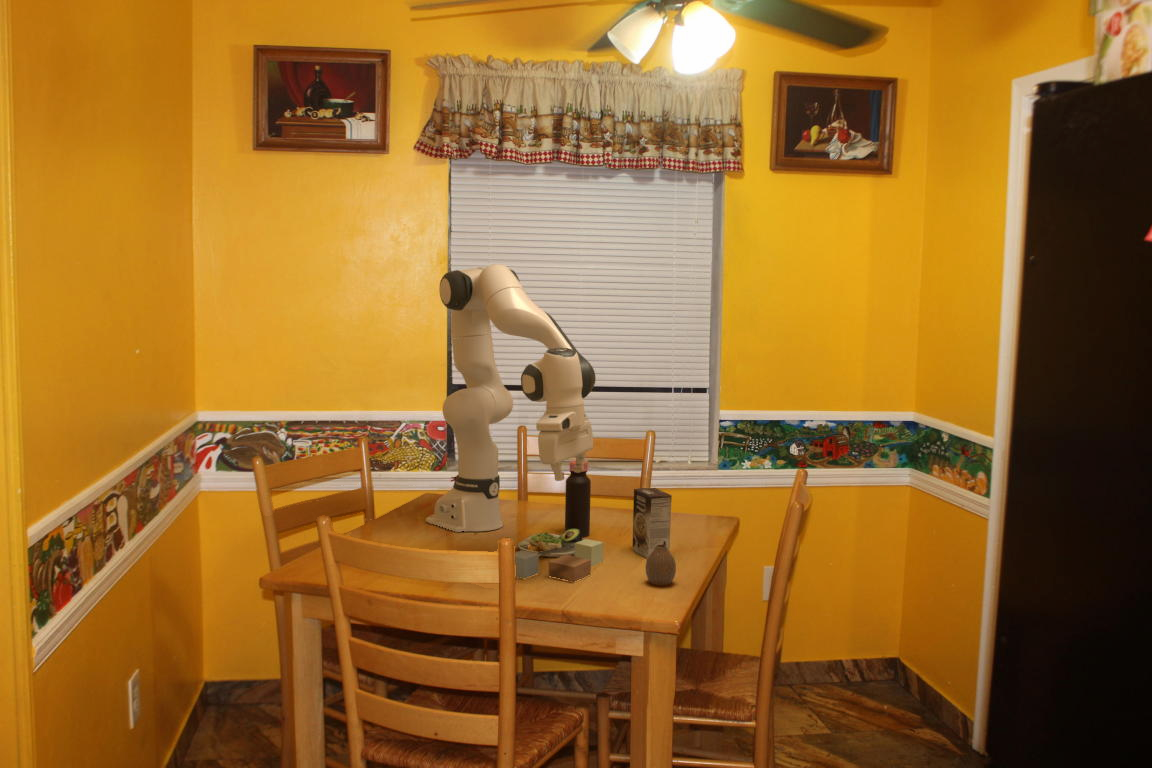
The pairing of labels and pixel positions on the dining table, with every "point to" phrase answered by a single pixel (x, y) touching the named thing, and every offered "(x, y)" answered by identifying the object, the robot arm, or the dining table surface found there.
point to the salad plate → (553, 543)
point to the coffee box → (651, 520)
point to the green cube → (589, 550)
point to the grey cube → (526, 563)
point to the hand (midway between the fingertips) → (569, 476)
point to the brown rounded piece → (660, 566)
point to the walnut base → (570, 568)
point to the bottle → (578, 500)
